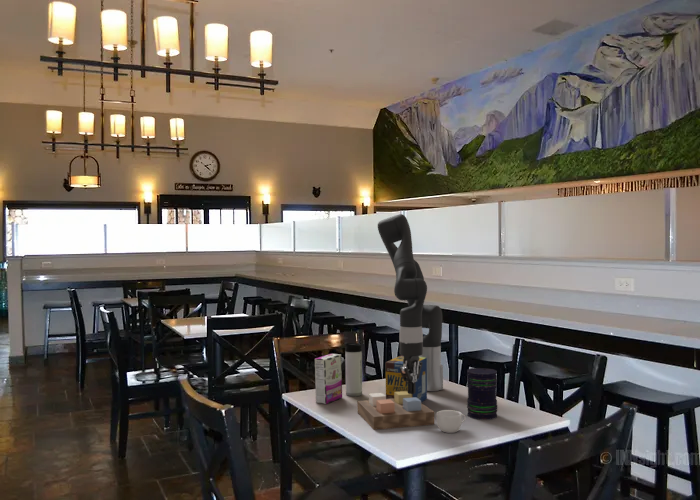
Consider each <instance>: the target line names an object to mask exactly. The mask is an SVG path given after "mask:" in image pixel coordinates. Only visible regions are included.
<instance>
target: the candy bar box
mask: <svg viewBox="0 0 700 500" xmlns="http://www.w3.org/2000/svg"><path fill="white" fill-rule="evenodd" d="M342 373H343V372H342V354H338V353H329V354H326V355H322V356H319V357H316V358H314V378H315V379H314V382H315V385H314V386H315V403H316V404H320V405H321V404H322V405H328V404H331V403H333V402H335V401H337V400H340V399H342V398H343V378H342V377H343V376H342V375H343V374H342Z"/></svg>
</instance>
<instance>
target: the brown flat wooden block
mask: <svg viewBox="0 0 700 500" xmlns="http://www.w3.org/2000/svg"><path fill="white" fill-rule="evenodd" d="M412 398H414V397H412ZM386 400H387V399H386ZM390 400H392V401H393V402H394V398H391V399H390ZM356 402H357V404H356V405H357V407H356V408H357V414H358V415H359V416H360V417H361V418H362V419H363V420H364V421H365V422H366V423H367V424H368V425H369V426H370V427H371V428H372V430H374V431H376V430H385V429H386V430H387V429H396V428H397V429H398V428H399V429H400V428H409V427H410V428H411V427H420V426H431V425H432V426H433V425H435V411H434V410H433V409H430V407H428V406H427V405H426V404H424V403H422V402H421V410H419V411H406V410H405V409H403V404H397V403H396V402H394V406H395V413H382V414H380V413H379V412H378V411H377V406H371V405H370V404H369V399H368V400H367V399H366V400H365V399H364V400H358V401H356Z"/></svg>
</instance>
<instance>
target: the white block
mask: <svg viewBox="0 0 700 500" xmlns="http://www.w3.org/2000/svg"><path fill="white" fill-rule="evenodd" d="M368 400H369V404H370V405H371V406H377V404H376V400H386V394H384V393H383V392H373V393H369V394H368Z"/></svg>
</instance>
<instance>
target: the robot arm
mask: <svg viewBox="0 0 700 500" xmlns="http://www.w3.org/2000/svg"><path fill="white" fill-rule="evenodd" d="M410 227H411V226H410V223H409V221H408V219H407V217H406V216H405V215H404V214H403V213H400V214H396V215H393V216H390V217H387V218H384V219H382V220H380V221H378V222H377V231H378V234H379V237H380V238H381V240H382V243H383V244H384V246H385V248H386V251H387V253H388V255H389V258H390V260H391V262H392V265H393V268H394V272H395V283H394V288H393V289H394V290H393V292H394V296H395V297H396V299H398V300H399V301H407V303H408V304H407V305H408V306H407V307H404V308H401V309H400V311H399V336H398V337H399V356H401V355H403V356H404V360H403V368H402V367H400V373H401V375H402V377H403V380H404V381H406V382H408V394H415V393H416V381H417V379H419V376H420V372H421V368H422V365H423V363H422V362H419V357H425V358H427V392H437V391H441V390H444V366H443V364H442V352H441V350H442V349H441V348H442V344H441V343H442V336H443V311H442V309H441V307H440V306H439V305H434V304H424V303H425V300H426V296H427V293H428V286H427V282H426V281H425V277H424V275H423V272H422V268H421V267H420V264H419V263H418V262H417V260H415V258H414V254H413V239H412V232H411V228H410ZM397 242H400V243H399V246H398V247H397V245H396V244H395V243H397ZM423 329H428V333H427V334H426V335H424V333H423ZM423 335H424V336H423Z"/></svg>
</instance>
